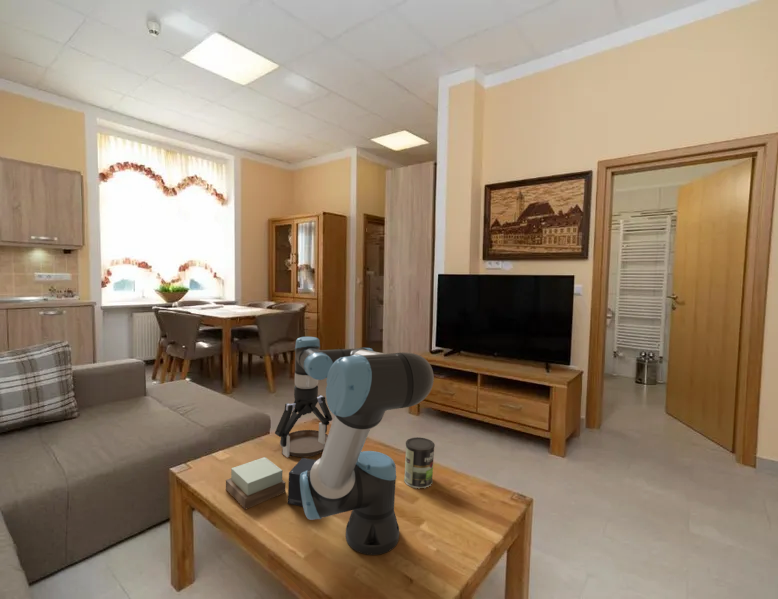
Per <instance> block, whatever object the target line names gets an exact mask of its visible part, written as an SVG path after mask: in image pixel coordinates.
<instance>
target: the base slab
mask: <svg viewBox="0 0 778 599" xmlns="http://www.w3.org/2000/svg"><path fill="white" fill-rule="evenodd" d="M226 490H227V491H228V492H229V493H230V494H231V495H232V496H233V497H234V498H235V499H236V500H237V501H238V502H237V501H236V500H235V499H234V498H233V497H232V496H231V495H230V494H229V493H228V492H227V491H226ZM225 491H226V492H227V493H228V494H229V495H230V496H231V497H232V498H233V499H234V500H235V501H236V502H237V503H238V504H239V503H240V504H239V505H240V506H241V505H242V506H241V507H242V508H243V509H244V510H247V509H250V508H251V507H254V506H257V505H258V504H262V503H264V502H266V501H268V500H271V499H273V498H275V497H277V496H280V495H282V494H284V493H286V481H285V480H284V479H282V482H281V483H278V484H276V485H273V486H271V487H268V488H266V489H263V490H261V491H258V492H256V493H253V494H251V495H248V496H247V495H246V494H245V493H244V492H243V491H242V490H241V489H240V488H239V487H238V486H237V485H236V484H235V483H234V482H233V481H232V480H231V477H230V478H228V479H226V480H225ZM246 508H247V509H246Z"/></svg>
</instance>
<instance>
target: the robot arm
mask: <svg viewBox="0 0 778 599" xmlns="http://www.w3.org/2000/svg"><path fill="white" fill-rule="evenodd" d="M320 342H321V341H320V339H319V338H318V337H315V336H301V337H298V338H297V339H296V340H295V347H294V352H295V354H294V356H295V357H294V386H293V388H294V389H293V390H294V391H293V397H294V402H293V403H289V402H286V403H285V404H284V410H283V413H282V415H281V417H280V420H279V422H278V425H277V426H276V429H275V430H274V431H275V432H274V434H275V435H276V436H278V437H279V438H280V440H281V445H280V447H281V446H283V449H282V455H284V456H285V458H289V457H290V454H289V447H290V436H288V434H289V433H291V431H292V430H293V427H294V426H296V423H297V421H298V420H299V419H300V418H301V417H302V416H305V415H307V414H312V413H313V414H314V415H315V416H316V418H318V420H319V421H320V422H319V423H318V431H319V437H318V442H320V443H322V444H325V433H326V434H327V432H328V434H327V435H328V437H327V441H326V444H325V447H324V450H323V451H322V452H321V453H322V454H321V457H319V458H318V459H316V460H317V461H316V462H315V463H314V465H313V466H312V468H311V471H308V470H307V471H305V472H302V473H301V474H300V490H301V497H302V503H303V506H302V508H303V511H304V515H305V517H306V518H307V520H311V521H312V520H322V519H323V518H327V517H332V516H334V515H339V514H343V513H347V512H351V514H350V516H349V518H348V521H347V524H346V527H345V539H346V543H347V544H348V546H349V547H350V548H351V549H352V550H354V551H355V552H358V553H360V554H363V555H371V556H374V555H383V554H386V553H388V552H390V551H392V550H393V549H394V548H395V547H396V546H397V544H398V542H399V539H400V526H399V524H398V520H397V515H396V513H395V498H396V481H397V480H396V479H397V467H396V463H395V461H394V460H393V458H392V457H391V456H388V455H387V454H386V453H382V452H379V451H375V450H374V451H373V450H363V447H364V445H365V443H366V440H367V437H368V435H369V433H370V430H371V429H373V428H375V427H376V426H378V425H379V424H380V423H381V422H382V419H383V417H384V415H385V413H386V411H390V410H397V409H398V410H399V409H405V408H410V407H411V408H412V407H413V406H416V405H418V404H419V403H421V402H423V401H424V400H425V399H426V398H427V397H428V395H429V394H431V391H432V388H433V386H434V381H435V380H434V379H435V378H434V371H433V368H432V365H431V363H429V361H428V360H427V359H426V358H425V357H423V356H422V355H420V354H417V353H414V352H394V353H384V352H378V351H374V350H373V348H372V347H371V348H370V347H358V348H341V349H339V348H338V349H321V344H320ZM322 380H326V387H325V396H324V395H321V394H319V386H318V384H319V381H322ZM317 404H318V405H319V407H320V409H321V412H320V410H319V409H318V407H317ZM331 413H332V414H333V416H332V414H331ZM330 422H331V425H330V428H329V431H328V426H329V424H330Z"/></svg>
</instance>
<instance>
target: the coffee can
mask: <svg viewBox="0 0 778 599" xmlns="http://www.w3.org/2000/svg"><path fill="white" fill-rule="evenodd" d="M435 448H436V447H435V442H434V441H433V440H431V439H429V438H424V437H411V438H408V439H407V440H406V441H405V462H404V476H403V477H404V478H403V479H404V480H403V481H404V483H405V484H406V486H408V487H410V488H413V489H417V488H418V489H419V490H421V489H420V488H424V489H427V488H426V487H428V488H430V487H431V486H432V485H433V473H434V456H435V454H434V453H435ZM431 484H432V485H431ZM429 486H430V487H429ZM418 489H417V490H418Z"/></svg>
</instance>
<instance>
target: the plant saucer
mask: <svg viewBox="0 0 778 599" xmlns="http://www.w3.org/2000/svg"><path fill="white" fill-rule="evenodd" d="M288 436H290V447H289V456H290V455H291V456H293V457H297V458H298V457H299V458H306V457H313V456H316V455H318V454H319V455H320V454H321V453H323V450H324V447H325V444H326V441H327V437H328V434H327V432H326V433H325V444H322V443H320V442H318V437H319V430H316V429H315V430H314V429H302V430H295V431H292V432H289V434H288ZM279 445H280V447H281V449H282V450H283V446H281V439H280V442H279Z"/></svg>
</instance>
